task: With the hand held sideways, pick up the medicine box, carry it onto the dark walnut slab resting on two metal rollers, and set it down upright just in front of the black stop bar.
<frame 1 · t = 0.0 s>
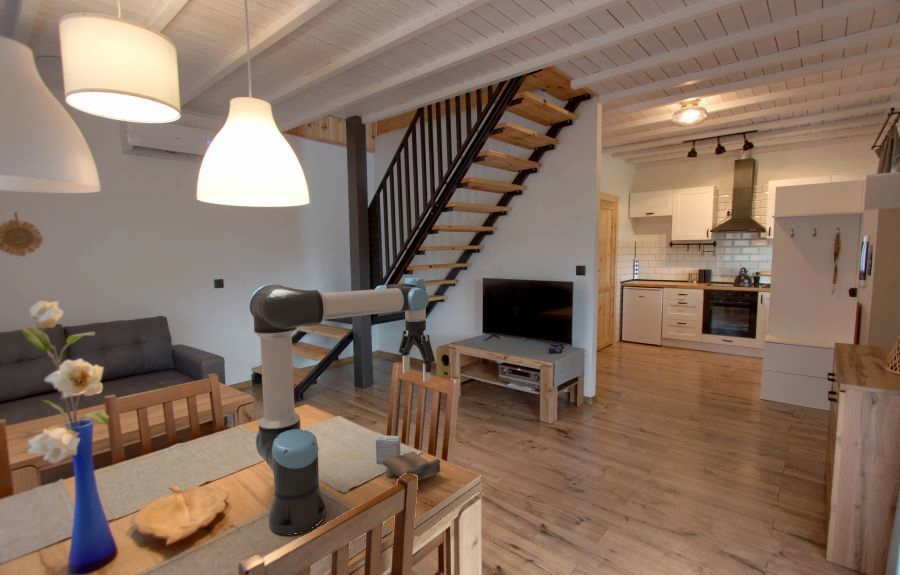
hand: (416, 376, 157), 28 cm above the table, tool pointing down, fingers open, 13 cm apart
medicine box: (388, 462, 151), on the table
roller slab: (411, 475, 141), on the table
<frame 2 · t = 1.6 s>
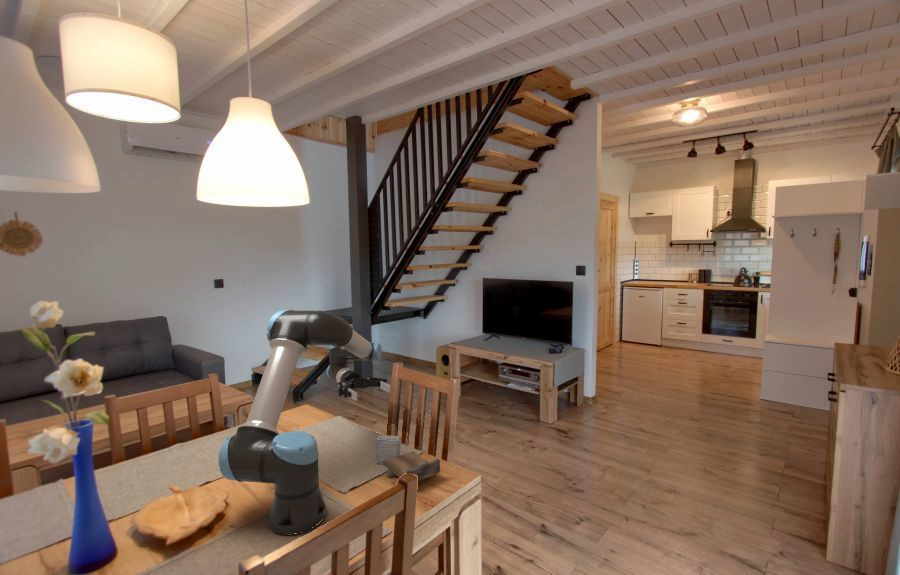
hand: (373, 392, 157), 22 cm above the table, tool horizontal, fingers open, 13 cm apart
nothing on the table moved.
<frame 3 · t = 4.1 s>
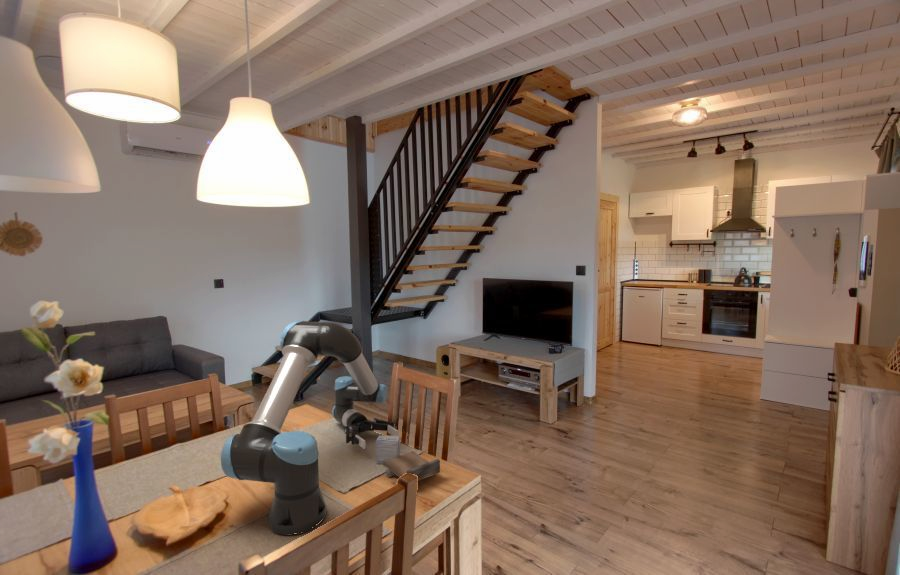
hand: (381, 439, 155), 6 cm above the table, tool horizontal, fingers open, 13 cm apart
nothing on the table moved.
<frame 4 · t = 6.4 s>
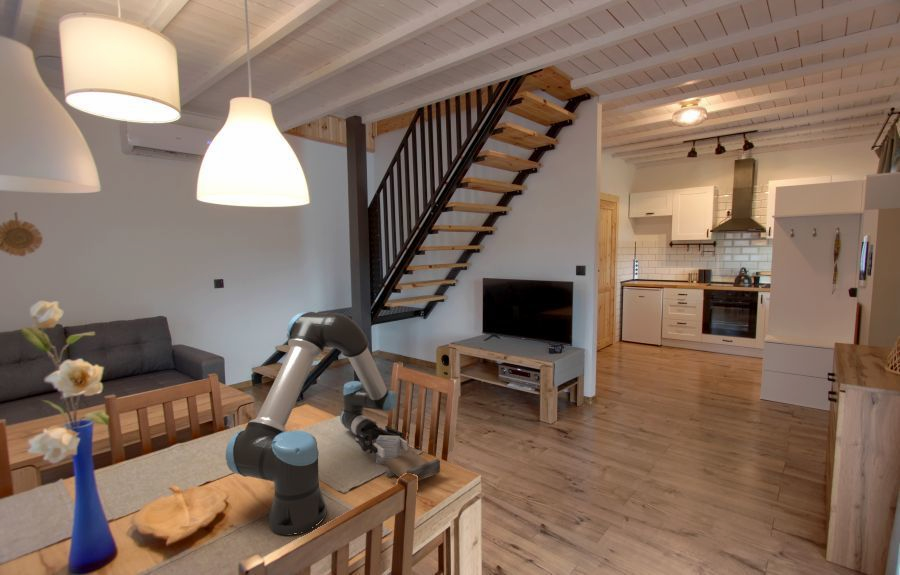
hand: (395, 449, 146), 6 cm above the table, tool horizontal, fingers closed on medicine box, 8 cm apart
medicine box: (388, 461, 151), on the table, touching gripper
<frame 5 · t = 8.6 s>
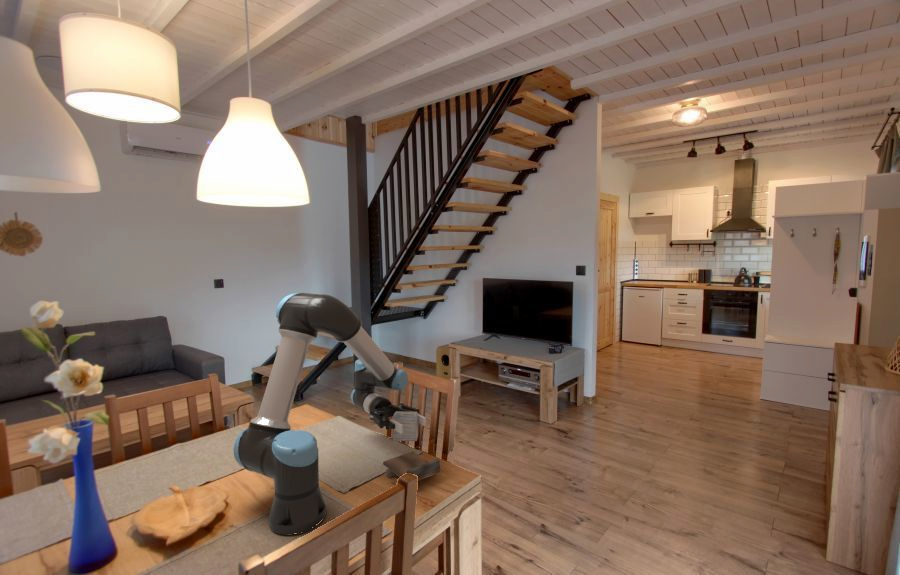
hand: (413, 425, 138), 18 cm above the table, tool horizontal, fingers closed on medicine box, 8 cm apart
medicine box: (405, 439, 142), point 11 cm above the table, touching gripper
when the fingers open (11 cm above the table, at t = 10.7 s): medicine box drops 1 cm, resting on roller slab.
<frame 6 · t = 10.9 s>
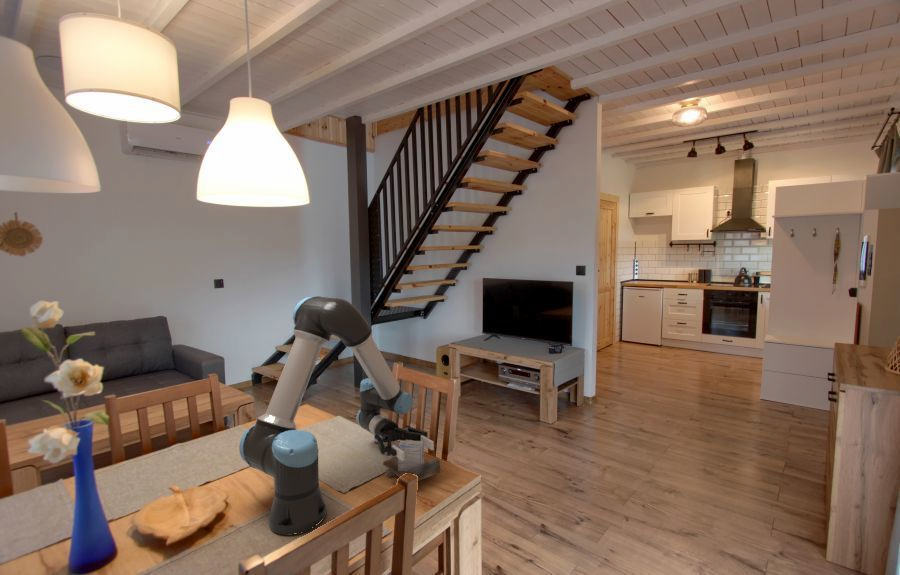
hand: (418, 451, 135), 11 cm above the table, tool horizontal, fingers open, 11 cm apart
medicine box: (411, 469, 138), point 3 cm above the table, touching roller slab
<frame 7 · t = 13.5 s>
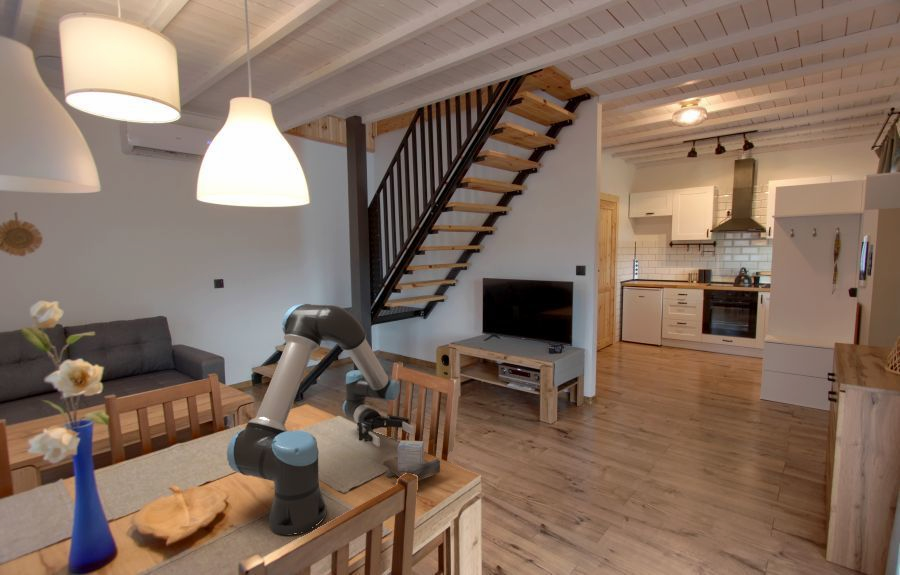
hand: (396, 436, 145), 11 cm above the table, tool horizontal, fingers open, 13 cm apart
nothing on the table moved.
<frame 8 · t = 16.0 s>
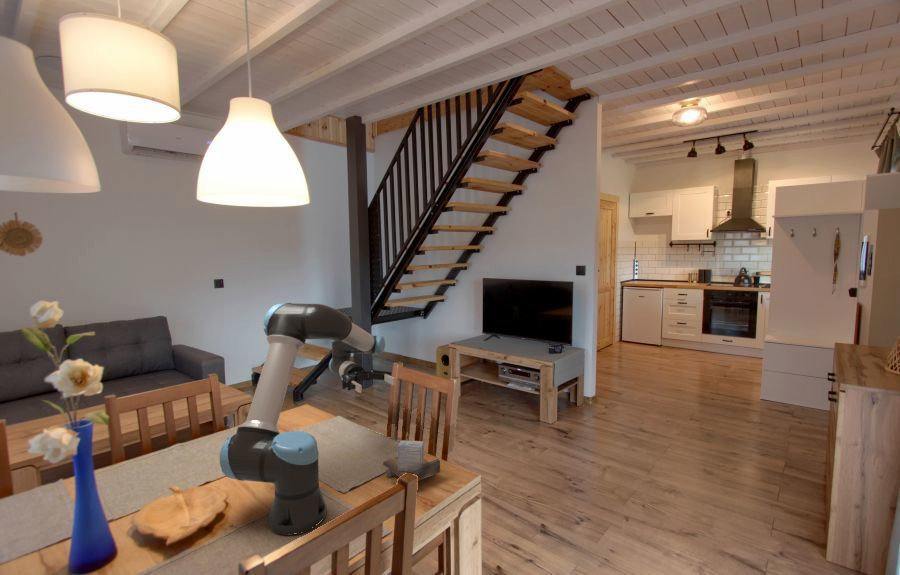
hand: (377, 385, 153), 26 cm above the table, tool horizontal, fingers open, 13 cm apart
nothing on the table moved.
at the end: medicine box inside the target area (0.5 cm from its centre), point 3.3 cm above the table; medicine box tilted 0°; the gripper is holding nothing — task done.
